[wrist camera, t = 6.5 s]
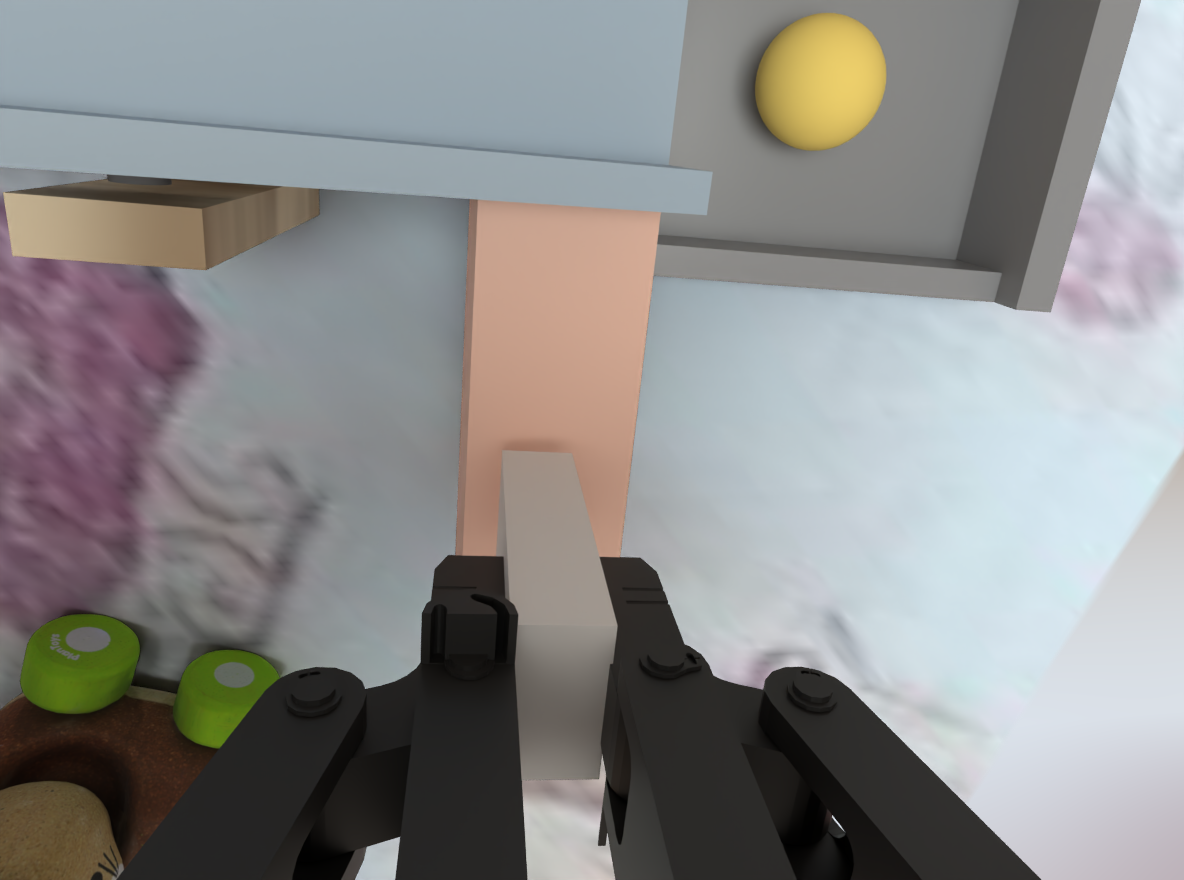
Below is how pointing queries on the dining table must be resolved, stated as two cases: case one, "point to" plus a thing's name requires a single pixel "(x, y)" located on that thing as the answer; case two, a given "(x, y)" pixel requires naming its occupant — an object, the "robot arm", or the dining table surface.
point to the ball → (820, 81)
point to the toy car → (106, 746)
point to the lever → (413, 171)
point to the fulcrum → (153, 221)
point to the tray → (901, 150)
